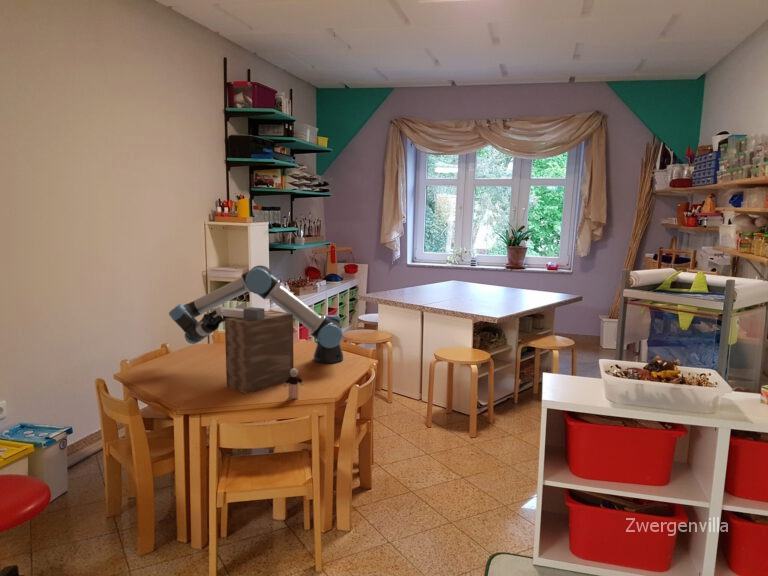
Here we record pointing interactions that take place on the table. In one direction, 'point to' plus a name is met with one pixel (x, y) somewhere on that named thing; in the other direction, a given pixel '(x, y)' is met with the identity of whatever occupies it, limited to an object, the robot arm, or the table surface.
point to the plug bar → (242, 312)
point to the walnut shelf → (259, 351)
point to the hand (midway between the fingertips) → (233, 306)
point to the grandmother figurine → (293, 384)
